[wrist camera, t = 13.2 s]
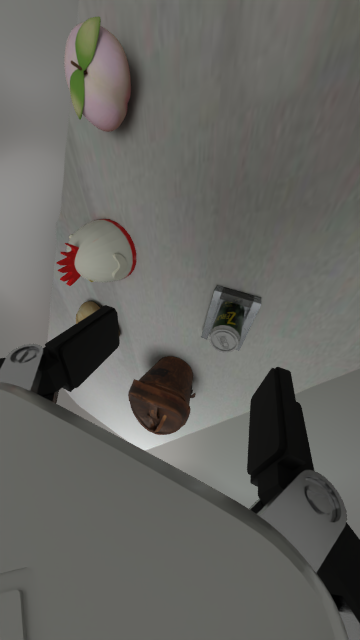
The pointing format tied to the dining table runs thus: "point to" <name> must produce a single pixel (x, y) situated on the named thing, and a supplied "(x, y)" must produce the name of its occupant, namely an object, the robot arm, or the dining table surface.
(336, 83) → the dining table surface
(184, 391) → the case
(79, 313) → the bread roll
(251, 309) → the grey tray
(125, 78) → the decorative fruit
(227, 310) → the beer can
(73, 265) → the kitchen timer
